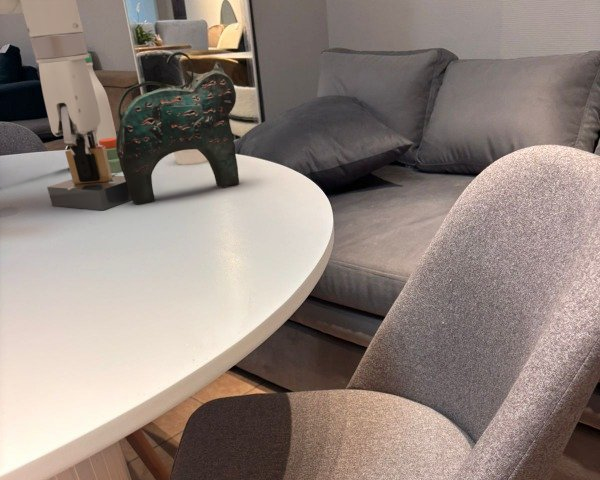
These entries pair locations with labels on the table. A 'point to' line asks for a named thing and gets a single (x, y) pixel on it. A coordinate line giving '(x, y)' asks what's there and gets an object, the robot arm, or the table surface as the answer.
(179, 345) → the table surface
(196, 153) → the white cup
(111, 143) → the dispenser button
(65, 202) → the base
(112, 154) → the dispenser
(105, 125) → the milk bottle
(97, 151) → the yellow rectangular block
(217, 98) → the ceramic cat
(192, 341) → the table surface
